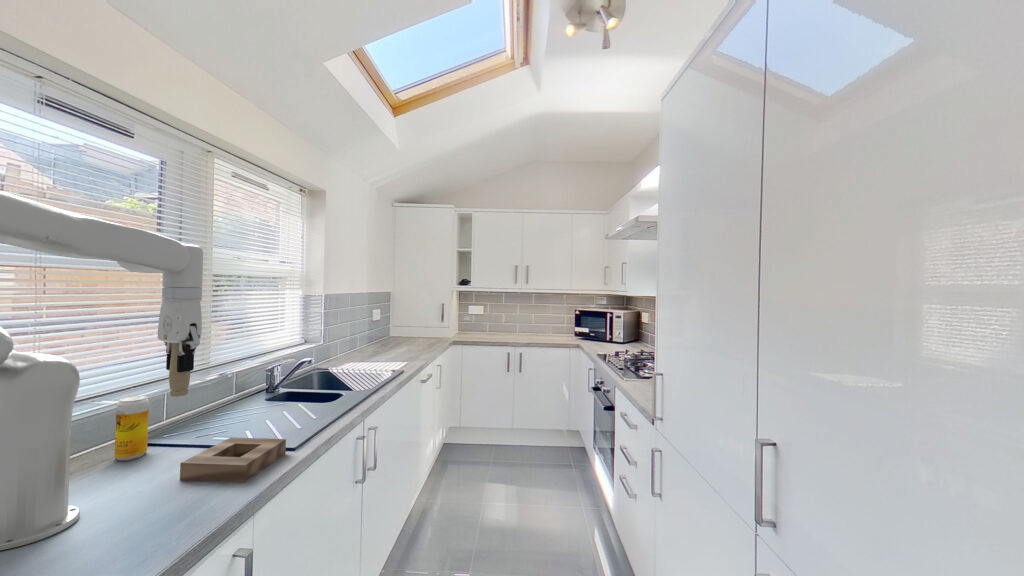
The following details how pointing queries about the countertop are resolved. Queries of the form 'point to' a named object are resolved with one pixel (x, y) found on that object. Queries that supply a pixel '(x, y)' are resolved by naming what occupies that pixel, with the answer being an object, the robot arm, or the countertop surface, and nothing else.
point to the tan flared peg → (177, 373)
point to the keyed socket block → (233, 460)
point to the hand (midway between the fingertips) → (179, 369)
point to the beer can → (131, 427)
